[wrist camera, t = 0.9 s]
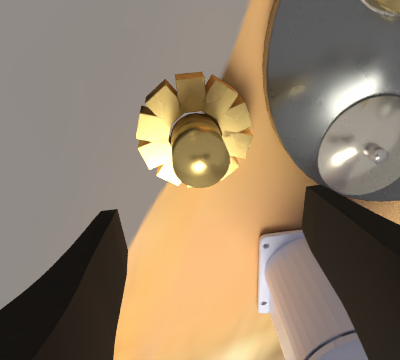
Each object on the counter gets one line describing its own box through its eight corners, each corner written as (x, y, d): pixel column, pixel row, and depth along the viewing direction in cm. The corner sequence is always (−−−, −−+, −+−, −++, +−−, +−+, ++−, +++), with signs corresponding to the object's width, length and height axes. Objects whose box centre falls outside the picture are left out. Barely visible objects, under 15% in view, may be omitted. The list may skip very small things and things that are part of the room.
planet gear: (247, 169, 22) (267, 209, 18) (147, 180, 22) (143, 225, 18) (247, 67, 19) (272, 87, 15) (128, 79, 19) (117, 103, 14)
